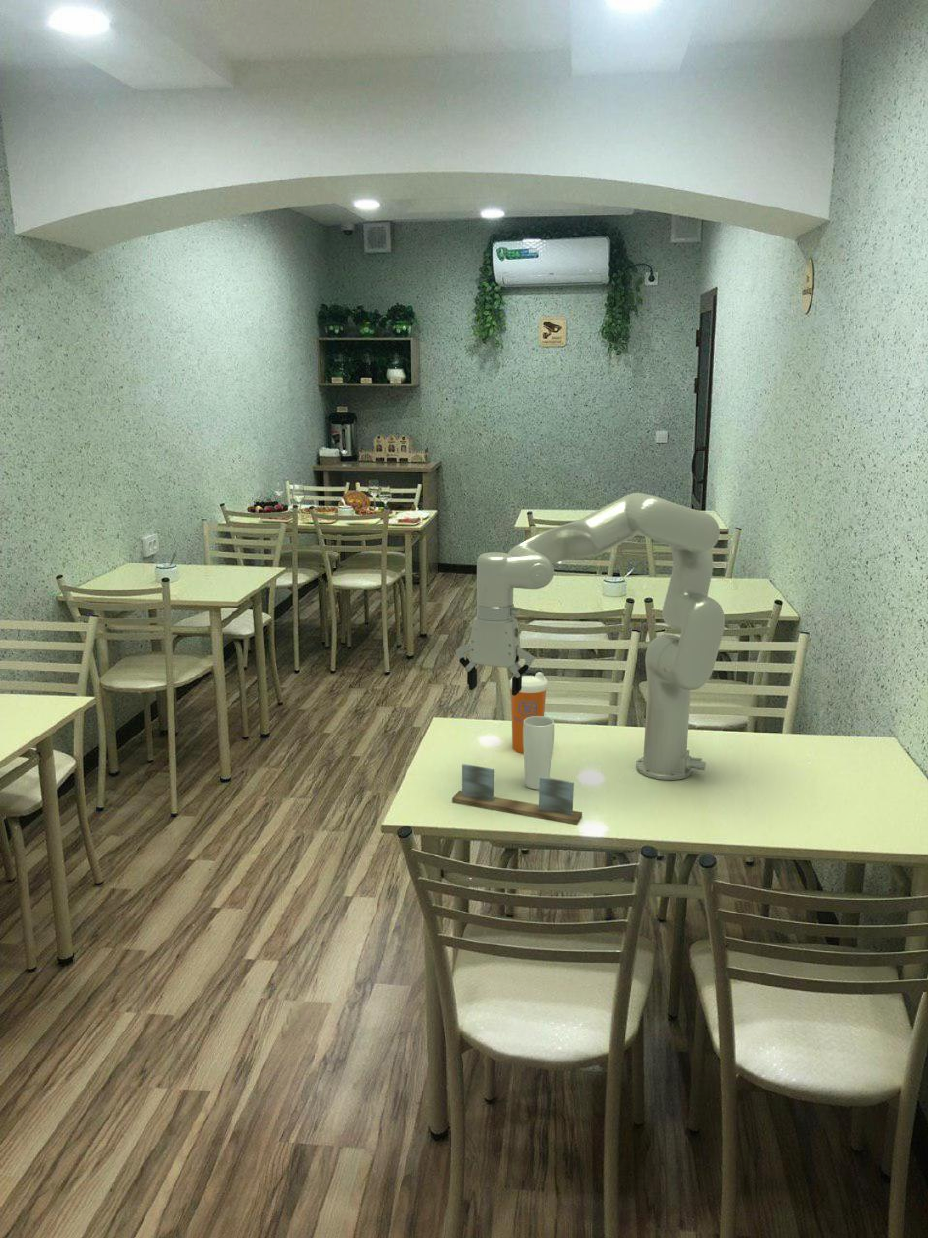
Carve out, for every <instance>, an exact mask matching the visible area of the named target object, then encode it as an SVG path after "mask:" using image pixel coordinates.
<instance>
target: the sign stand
mask: <svg viewBox="0 0 928 1238" xmlns="http://www.w3.org/2000/svg"><path fill="white" fill-rule="evenodd" d="M574 785H575V782H574V781H569V780H563V779H557V778H551V777H550V778H545V777H540V783H539V790H538V804H537V803H531V802H526V801H519V800H515V799H509V798H503V797H498V796H495V769H494V768H492V767H491V768H489V767H484V766H478V765H472V764H466V763H462V765H461V790H458V791H457V792H456V793H455V794H454V795H453V796H452V797H451V803H455V804H460V805H465V806H470V807H477V808H481V809H482V808H483V809H487V810H494V811H497V812H505V813H508V814H509V813H510V814H514V815H521V816H527V817H531V818H535V819H536V818H538V819H542V820H547V821H553V822H558V823H559V822H560V823H565V824H569V825H576V826H578V823H579V822H580V821H581V819H582V817H583V812H582V811H576V810H574V789H575V787H574Z"/></svg>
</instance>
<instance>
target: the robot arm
mask: <svg viewBox="0 0 928 1238" xmlns="http://www.w3.org/2000/svg"><path fill="white" fill-rule="evenodd" d="M720 530H721V529H720V526H719V523H718V522H717V520H716V519H715V517H713V516H712V515H711V514H709V513H706V512H703V511H701V510H697V509H694V508H692V507H691V508H690V507H688V506H684V505H681V504H678V503H675V502H674V501H673V502H672V501H669V500H668V499H665V498H662V497H659V496H656V495H652V494H647V493H642V492H633V493H630V494H626V495H625V496H624V495H623V497H621V498H619V499H616V500H615V501H613V502H611V503H609V504H607V505H606V506H603V507H601V508H600V509H598V510H596V511H594V512H592V513H591V514H589V515H586V516H584V517H583V518H580V519H578V520H574V521H572V522H569V523H566V524H563V525H560V526H557V527H554V528H551V529H548V530H546V531H542V532H540V533H538V534H535V535H534V536H532V537H530V538H528V539H526V540H524V541H522V542H520V543H519V544H517V545H515V546H513V547H512V548H511V549H510V550H509V551H508V552H507V553H506V552H501V551H500V552H499V551H498V552H495V551H494V552H493V551H492V552H484V553H481V554H479V556H478V558H477V561H476V616H475V617H474V618H473V622H472V626H471V633H470V641H469V643H467V644H465V645H462V646H459V647H457V648H456V649H455V651H454V652H455V654H456V656H457V658H458V659H459V660H458V661H459V663H460V664H461V666H462V667H463V668H464V671H465V672H466V674H467V675H466V685H468V690H469V691H473V690H474V689H476V687H478V670H477V668H476V666H477V665H479V666H484V667H485V666H486V667H495V668H504V669H508V668H509V671H511V673H512V674H513V676H514V677H513V676H512V677H511V678H512V695H513V696H516V695H517V694H518V693H519V691H521V689H522V674H523V673H525V672H526V671H527V670H528V669H531V667H532V664H533V663H534V660H535V656H534V655H533V654H531V653H529V652H528V651H526V650H525V649H524V648H521V638H520V629H519V622H518V619H517V618H515V616H519V615H520V613H521V612H520V609H519V608H516V607H515V604H514V589H521V590H522V589H524V590H540V589H542V588H545V587H547V586H549V584H550V583H551V582H552V580H553V579H554V575H555V569H554V565H553V564H556V563H558V562H562V561H567V560H572V559H587V558H589V559H590V558H594V557H598V556H600V555H602V554H604V553H605V552H608V551H610V550H612V549H614V548H616V547H617V546H619V545H621V544H623V543H624V542H627V541H629V540H631V539H633V538H634V537H636V536H643V537H646V538H648V539H651V540H654V541H657V542H659V543H662V544H665V545H668V548H669V549H670V551H671V554H672V570H671V575H670V579H669V584H668V587H667V592H666V595H665V599H664V603H663V607H662V619H663V621H664V623H665V624H666V626H668V627H670V629H672V630H674V631H677V632H678V633H680V637H679V636H678V635H676V634H675V635H674V634H670V633H669V634H667V633H666V634H660V635H658V636H656V637H654V638H653V640H651V641H650V642H649V643H648V646H647V648H646V652H645V660H644V661H645V671H646V672H645V673H646V679H647V680H646V681H647V684H646V687H647V689H646V690H647V691H646V693H647V694H646V706H645V709H646V710H645V724H644V726H645V727H644V729H645V730H644V741H643V742H644V743H643V756H642V757H639V758H638V760H636V764H635V765H636V766H635V767H636V771H638V772H639V773H641V774H642V775H644V776H645V777H649V778H652V779H657V780H664V781H677V780H682V779H686V778H688V777H689V776H691V775H692V774H693V769H695V770H698V771H705V770H706V765H707V764H706V763H707V762H706V761H703V760H702V759H703V758H701V757H700V758H699V757H692V755H690V749H688V737H689V736H688V735H689V734H688V733H689V721H690V720H689V719H690V707H691V691H694V690H695V691H696V690H699V689H701V688H702V687H703V686H705V684H707V683H708V681H709V680H710V678H711V677H712V673H713V672H714V668H715V665H716V662H717V657H718V654H719V650H720V646H721V645H722V643H721V642H722V640H723V639H722V638H723V636H724V633H725V632H724V631H725V626H726V617H725V612H724V609H723V607H722V606H721V604H720V602H718V601H717V600H716V599H714V598H712V597H710V596H708V595H709V591H710V585H711V582H712V575H713V572H714V571H713V570H714V569H713V568H714V560H713V553H712V549H713V548H714V547H715V546H716V545H717V543H718V541H719V539H720V534H721V531H720ZM468 651H469V658H468V657H467V656H466V652H468ZM521 659H523V660H524V661H525V662H524V664H523V665H522V666H521V665H520V662H521Z"/></svg>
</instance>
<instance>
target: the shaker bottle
mask: <svg viewBox="0 0 928 1238" xmlns="http://www.w3.org/2000/svg"><path fill="white" fill-rule="evenodd" d="M512 677H514V675H513V676H512ZM512 677H511V678H510V679H509V680H510V681H509V689H510V698H511V699H510V703H511V705H510V708H511V744H512V745H511V747H512V750H513V751H514V752H516V753H519V754H522V755H524V749H523V723H524V719H526V718H528V717H532V716H543V717H545V712H546V711H545V709H546V696H547V690H548V679H547V678H546V677H545V676H544V670H543V668H541V667H536V668H535V669H534V668H529V669H528V670H527V671H526V672H525V673H523V674H522V689H521V691H519V693H518V694H517V695H516V696H513V695H512Z"/></svg>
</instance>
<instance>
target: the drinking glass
mask: <svg viewBox="0 0 928 1238" xmlns="http://www.w3.org/2000/svg"><path fill="white" fill-rule="evenodd" d="M554 743H555V721H554V719H553V718H550V717H547V716H544V717H543V716H532V717H528V718H526V719H524V723H523V749H524V754H523V761H524V785H525V787H527V788H529V789H531V790H538V791H539V783H540V777H545V778H551V777H550V776H551V767H552V766H551V765H552V761H553V760H552V758H553V752H554V751H553V750H554Z"/></svg>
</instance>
